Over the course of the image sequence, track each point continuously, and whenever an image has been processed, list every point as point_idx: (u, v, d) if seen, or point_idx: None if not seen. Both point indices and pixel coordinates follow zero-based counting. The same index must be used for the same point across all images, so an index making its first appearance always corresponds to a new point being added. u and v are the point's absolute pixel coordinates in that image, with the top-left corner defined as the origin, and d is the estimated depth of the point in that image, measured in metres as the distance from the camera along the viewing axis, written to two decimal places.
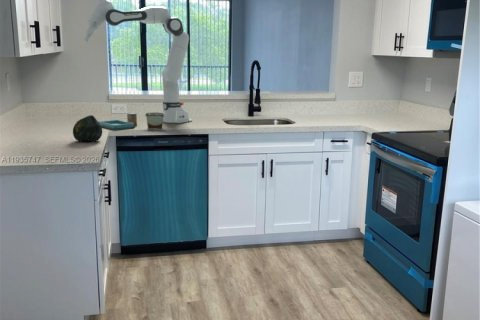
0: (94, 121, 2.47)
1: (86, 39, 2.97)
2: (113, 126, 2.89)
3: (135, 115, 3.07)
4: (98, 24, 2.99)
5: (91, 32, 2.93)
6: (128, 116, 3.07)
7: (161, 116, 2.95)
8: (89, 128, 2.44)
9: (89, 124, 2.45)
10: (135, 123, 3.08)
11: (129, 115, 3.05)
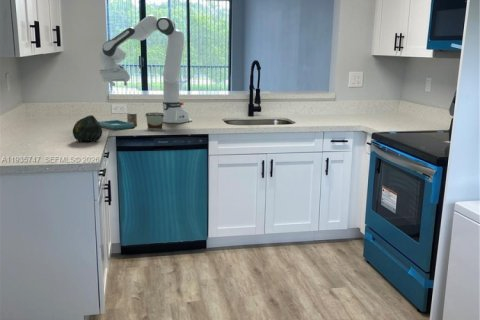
0: (94, 121, 2.47)
1: (112, 84, 3.12)
2: (113, 126, 2.89)
3: (135, 115, 3.07)
4: (108, 68, 3.15)
5: (103, 77, 3.10)
6: (128, 116, 3.07)
7: (161, 116, 2.95)
8: (89, 128, 2.44)
9: (89, 124, 2.45)
10: (135, 123, 3.08)
11: (129, 115, 3.05)
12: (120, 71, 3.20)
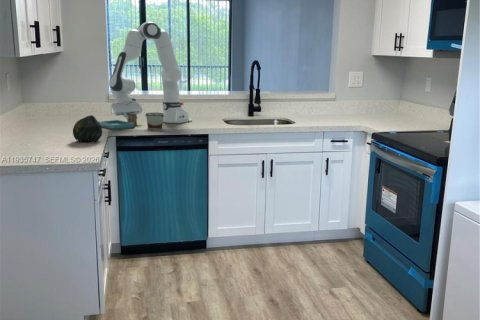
0: (94, 121, 2.47)
1: (127, 117, 3.05)
2: (113, 126, 2.89)
3: (135, 115, 3.07)
4: (120, 101, 3.07)
5: (115, 111, 3.02)
6: None
7: (161, 116, 2.95)
8: (89, 128, 2.44)
9: (89, 124, 2.45)
10: (135, 123, 3.08)
11: (129, 115, 3.05)
12: (132, 104, 3.12)
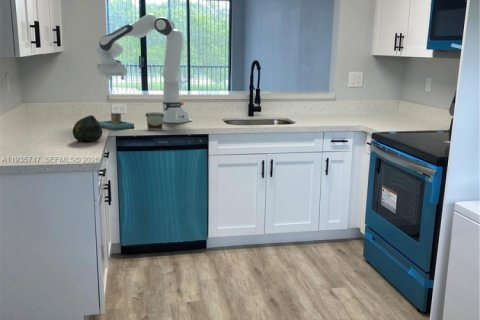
0: (94, 121, 2.47)
1: (109, 78, 3.14)
2: (113, 126, 2.89)
3: (119, 115, 2.98)
4: (105, 62, 3.18)
5: (100, 71, 3.12)
6: (111, 116, 2.98)
7: (161, 116, 2.95)
8: (89, 128, 2.44)
9: (89, 124, 2.45)
10: (119, 123, 2.99)
11: (113, 115, 2.97)
12: (117, 65, 3.22)
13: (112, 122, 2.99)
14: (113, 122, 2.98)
